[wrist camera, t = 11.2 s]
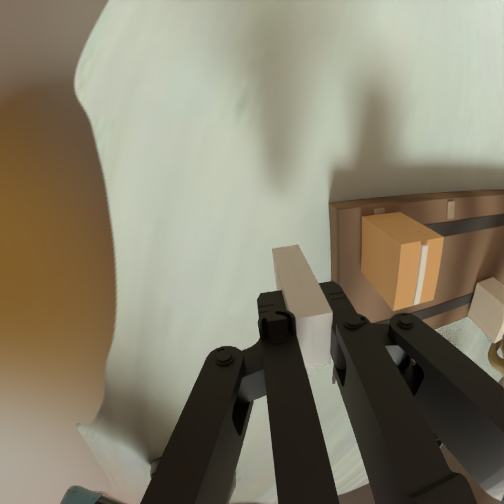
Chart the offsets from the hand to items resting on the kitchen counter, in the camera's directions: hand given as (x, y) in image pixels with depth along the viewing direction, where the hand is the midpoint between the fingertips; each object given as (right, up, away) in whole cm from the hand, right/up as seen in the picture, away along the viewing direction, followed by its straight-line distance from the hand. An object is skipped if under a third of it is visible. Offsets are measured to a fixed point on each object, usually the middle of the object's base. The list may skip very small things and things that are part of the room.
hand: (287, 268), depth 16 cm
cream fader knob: (+22, -4, +5) cm, 22 cm away
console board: (+16, 0, +5) cm, 17 cm away
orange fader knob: (+7, +2, +2) cm, 7 cm away
